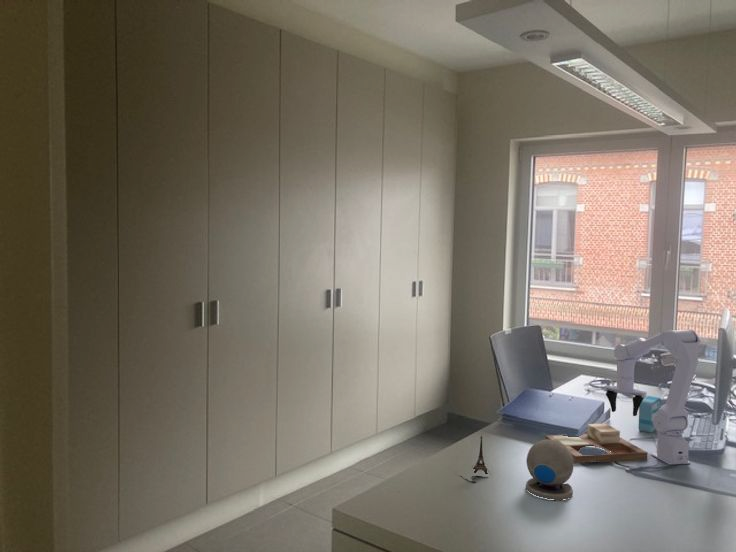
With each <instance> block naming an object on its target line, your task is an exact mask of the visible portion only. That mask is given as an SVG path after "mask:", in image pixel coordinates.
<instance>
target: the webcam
mask: <svg viewBox="0 0 736 552" xmlns="http://www.w3.org/2000/svg"><path fill="white" fill-rule="evenodd" d="M574 464H575V463H574V462H573V458H572V455H571V453H570V451H569V450H568V449H567V448H566V447H565V446H564V445H563V444H561V443H560V442H558V441H555V440H549V439H547V440H545V439H542V440H539V441H537V442H536V443H533V445H532V446H531V447H530V449H529V450H528V453H527V456H526V467H527V470H528V472H529V475H530V476H531V477H532V478H529V479H528V480H527V481H526V483H525V490H526V489H527V490H528V491H529V492H530V493H532V494H534V495H536V496H539V497H543V498H547V499H554V500H563V499H567V500H569V499H568V498H570V497H571V498H572V497H573V496H572V495H573V494H574V493H573V492H574V490H573V487H572V486H571V485H570V484H569V483H568V481H569V479H570V478H571V476H572V475H573V473H574V472H573V471H574ZM566 482H567V483H566ZM571 498H570V499H571Z"/></svg>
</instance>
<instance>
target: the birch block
mask: <svg viewBox="0 0 736 552" xmlns="http://www.w3.org/2000/svg"><path fill="white" fill-rule="evenodd" d="M620 433H621V431H620V430H619V429H617V428H616V427H615V428H614V427H612V426H611V425H609V424H608V423H605V422H604V423H588V424H587V433H586V434H587V435H588V436H590V437H591V438H593V439H595V440H596V441H598V442H600V443H618V442H619V441H620V438H621V437H620V436H621V434H620Z"/></svg>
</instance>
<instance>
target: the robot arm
mask: <svg viewBox="0 0 736 552" xmlns="http://www.w3.org/2000/svg"><path fill="white" fill-rule="evenodd" d="M700 345H701V339H700V338H699V336H698V334H697V332H696V331H695V330H694V329H690V328H688V329H677V330H676V329H675V330H671V329H668V330H665V331H661V332H659V333H657V334H654V335H653V336H651V337H648V338H647V339H646V338H644V337H640V336H638V337H635V340H633V341H626V343H625V344H621V343H618V344H617V345H616V346H615V347H614V351H613V353H614V354H613V355H614V357H615V359H617V369H616V385H608V384H606V385H604V388H603V391H604V392H606V393H605V396H606V398H607V399H608V403H609V405H610V408H611V409H610V410H611V412H612V413H615V412H616V411H617V397H618V394H622V395H628V396H632V404H633V405H632V407H633V408H632V416H633V417H637V416H638V413H639V406H640V404H641V402H642V401H643V399H644V398H646V397H647V391H644V390H641V389H635V387H634V384H635V383H634V382H635V365H636V363H637V359H638V357H642V356H644V355H647V354H649V353H650V352H651V350H652V349H654V348H656V347H659V346H660V347H661V346H664V348H665V349H666V350H667V351H668V353H670V355H671V356H672V357H673V358H674V359H676V361H677V363H676V367H675V370H674V372H673V376H672V379H671V382H670V383H671V384H670V387H669V390H668V394H667V397H666V400H665V403H664V404H662V405H661V407H660V408H659V409H658V412H657V414H656V415H655V416H654V417H653V425H654V427H655V429H656V430H655V432H657V447H656V452H652V453H650V455H651V456H653V457H654V458H656V459H658V460H660V461H662V462H664V463H665V464H667V465H685V464H689V465H690V464H691V462H690V461H689V448H690V446H689V442H688V441H687V440H686V438H684V436H683V434H684V433H685V430H686V429H687V428H688V427H689V426H688V425H689V421H688V419H689V418H688V417H689V414H690V413H689V412H688V411H687V409H685V406H686V402H687V400H688V399H687V398H688V395H689V393H690V388H691V386H692V382H693V380H694V377H695V373H696V370H697V366H698V363H699V347H700Z"/></svg>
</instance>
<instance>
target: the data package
mask: <svg viewBox="0 0 736 552" xmlns="http://www.w3.org/2000/svg"><path fill="white" fill-rule="evenodd" d="M661 401H662V399H661V397H657V396H653V395H651V396H650V395H646V397H645V398H644V399H643V401H642V402H641V404H640V406H639V409H638V427H637V428H638V431H639V432H645V433H647V434H648V433H649V434H652V433H653V432H656V429H655V427H654V425H653V417H654V416H655V415H656V414H657V412H658V409H659V408H660V407H661V406H662V405H661V404H662V402H661Z"/></svg>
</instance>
